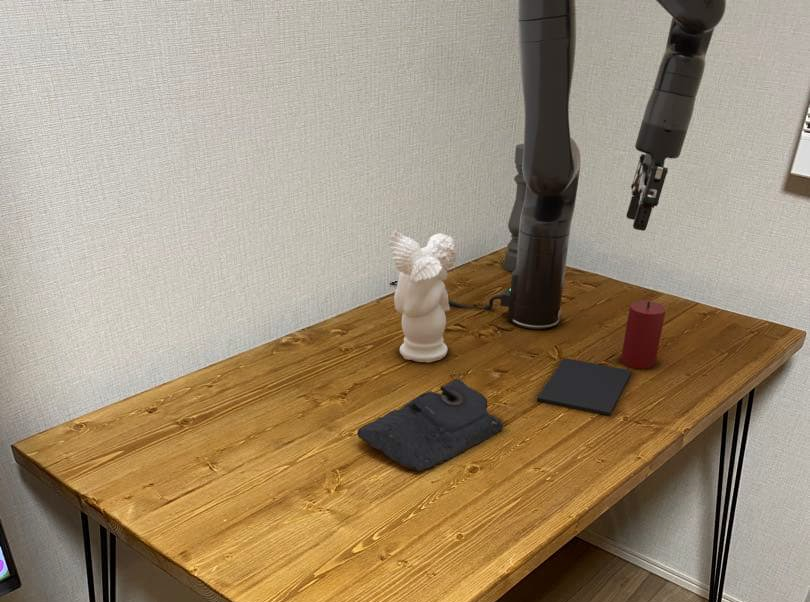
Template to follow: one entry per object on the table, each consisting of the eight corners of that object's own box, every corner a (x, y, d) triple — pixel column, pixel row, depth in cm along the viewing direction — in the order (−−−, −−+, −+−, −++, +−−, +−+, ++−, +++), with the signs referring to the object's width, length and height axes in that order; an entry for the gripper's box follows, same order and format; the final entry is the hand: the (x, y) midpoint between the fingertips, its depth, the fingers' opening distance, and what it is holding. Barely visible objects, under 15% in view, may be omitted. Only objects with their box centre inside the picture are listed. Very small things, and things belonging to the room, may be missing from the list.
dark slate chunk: (340, 440, 132) (340, 412, 129) (437, 393, 145) (439, 366, 142) (416, 479, 124) (417, 449, 121) (512, 425, 137) (515, 397, 134)
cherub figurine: (445, 340, 163) (451, 218, 150) (467, 368, 153) (475, 240, 140) (381, 346, 160) (382, 222, 147) (399, 375, 150) (402, 246, 137)
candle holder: (533, 272, 193) (546, 150, 179) (505, 272, 193) (515, 149, 179) (530, 263, 198) (543, 143, 184) (503, 262, 198) (513, 143, 184)
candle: (617, 365, 156) (627, 304, 149) (624, 352, 160) (635, 293, 154) (651, 371, 154) (663, 310, 147) (657, 358, 158) (669, 298, 152)
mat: (536, 400, 144) (537, 397, 143) (563, 361, 156) (564, 357, 156) (609, 415, 140) (610, 412, 140) (631, 373, 153) (632, 370, 152)
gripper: (637, 114, 151) (609, 211, 160) (649, 123, 139) (619, 228, 147) (679, 122, 151) (650, 220, 160) (696, 133, 139) (663, 237, 148)
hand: (635, 224), depth 154 cm, fingers open, 8 cm apart
